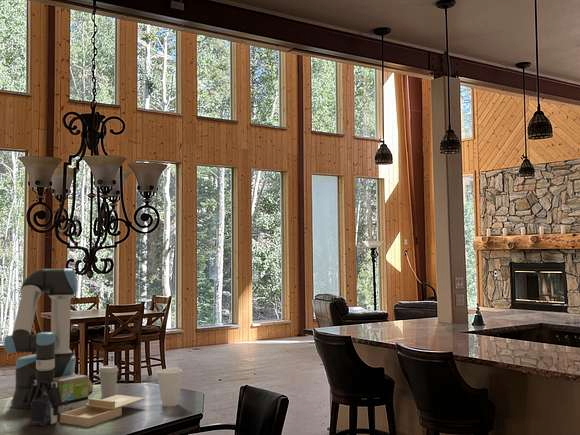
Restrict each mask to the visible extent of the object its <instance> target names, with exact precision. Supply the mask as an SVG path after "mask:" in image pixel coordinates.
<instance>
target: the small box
mask: <svg viewBox="0 0 580 435" xmlns="http://www.w3.org/2000/svg"><path fill="white" fill-rule="evenodd" d="M51 408H52V404H51V402H50V399H49V397H48V394H44V396H42V397H39V398H37V399H34V400H32V405H31V408H30V410H31V412H30V426H36V425H39V426H38V427H44V426H46V425H48V424H51Z"/></svg>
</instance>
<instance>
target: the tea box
mask: <svg viewBox="0 0 580 435" xmlns="http://www.w3.org/2000/svg"><path fill="white" fill-rule="evenodd" d="M89 380H90V376H89V375H84V374H78V373H73V375H68V376H63V377H58V378H53V382H54V383H57V382H58V383H59V391H60V396H61V401H62V406H59V407H58V414H62V413H65V412H69V411H72V410H75V409H78V408H82V407H85V406H87V405H86V404H88V403H89V393H88V389H89ZM50 390H51V389H50Z"/></svg>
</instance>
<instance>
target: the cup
mask: <svg viewBox="0 0 580 435" xmlns="http://www.w3.org/2000/svg"><path fill="white" fill-rule="evenodd" d="M156 373H157V379H158V387H159V388H158V389H159V393H160V394H159V395H160V400H161V405H163V406H162V407H165V406H167V407H168V408H170V407H171V406H172V407H176V406H178V402H179V401H178V400H179V398H180V390H181V382H182V375H183V369H181V368H163V369H159V370H157V371H156ZM167 407H166V408H167Z"/></svg>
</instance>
